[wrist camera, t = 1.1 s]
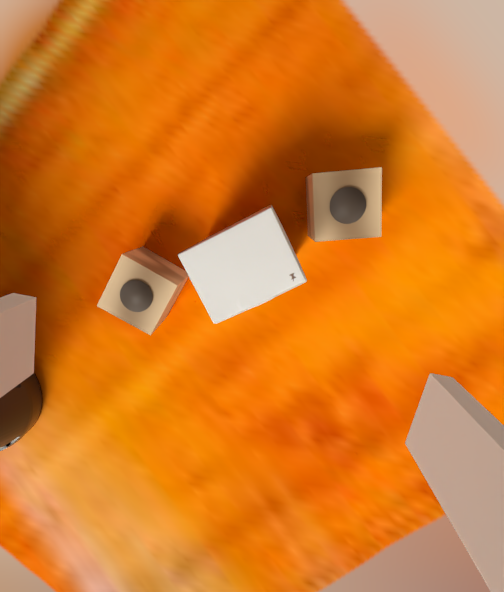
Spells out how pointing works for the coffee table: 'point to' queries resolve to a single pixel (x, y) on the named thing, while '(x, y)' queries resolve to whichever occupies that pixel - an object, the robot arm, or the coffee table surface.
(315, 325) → the coffee table surface
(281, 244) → the small box
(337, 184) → the marked block
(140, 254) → the marked block
